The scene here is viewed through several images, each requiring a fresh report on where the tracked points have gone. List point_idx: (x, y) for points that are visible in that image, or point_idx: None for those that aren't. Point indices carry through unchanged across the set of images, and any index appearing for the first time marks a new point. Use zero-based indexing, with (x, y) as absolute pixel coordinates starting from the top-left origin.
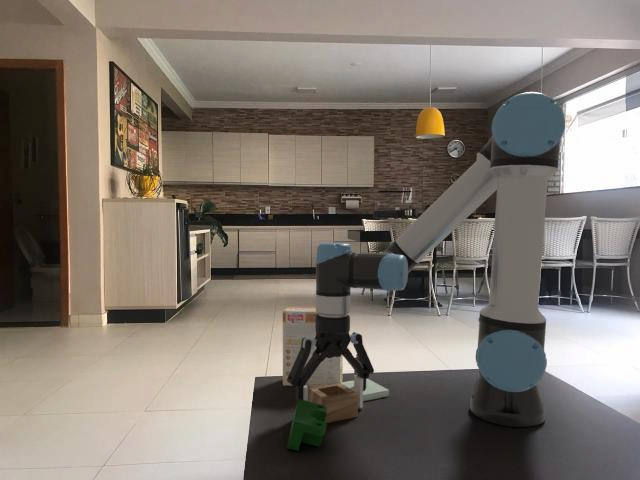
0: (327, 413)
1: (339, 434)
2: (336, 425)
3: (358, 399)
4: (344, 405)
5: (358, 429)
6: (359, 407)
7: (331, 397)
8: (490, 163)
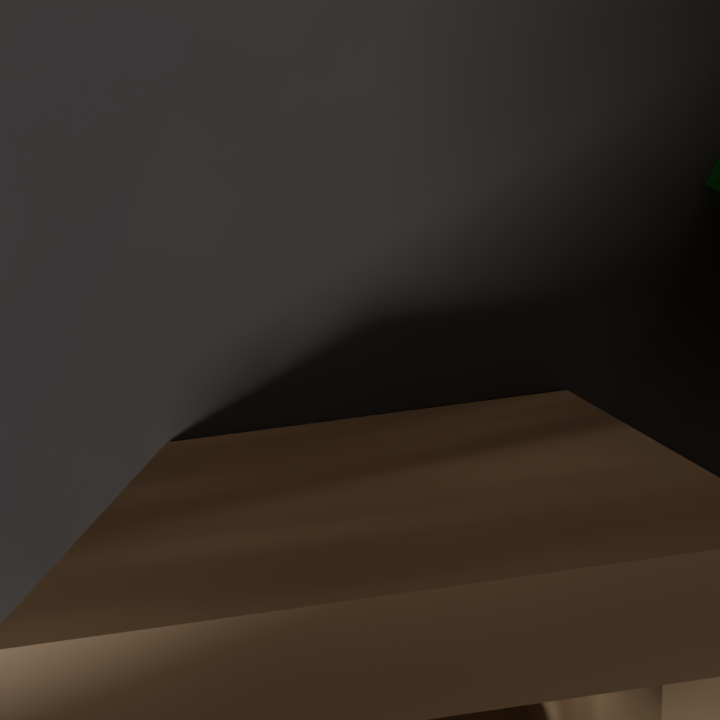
0: (592, 428)
1: (543, 78)
2: (474, 312)
3: None
4: (337, 493)
5: (287, 125)
6: None
7: (637, 602)
8: None
